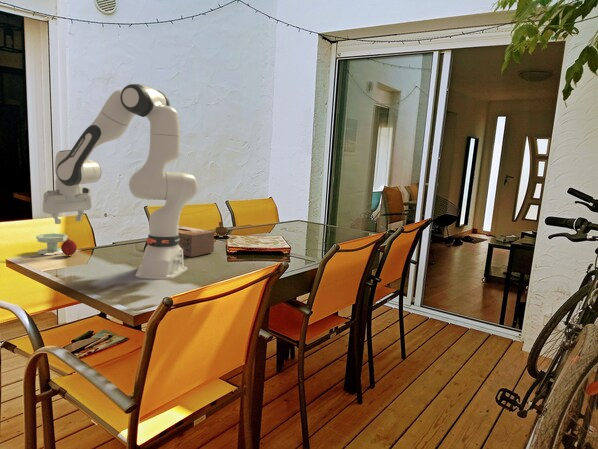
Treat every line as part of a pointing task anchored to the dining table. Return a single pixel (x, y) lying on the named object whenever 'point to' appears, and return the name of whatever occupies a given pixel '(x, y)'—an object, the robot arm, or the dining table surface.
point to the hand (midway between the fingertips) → (68, 222)
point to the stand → (51, 242)
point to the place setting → (221, 230)
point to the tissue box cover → (195, 241)
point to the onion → (69, 247)
